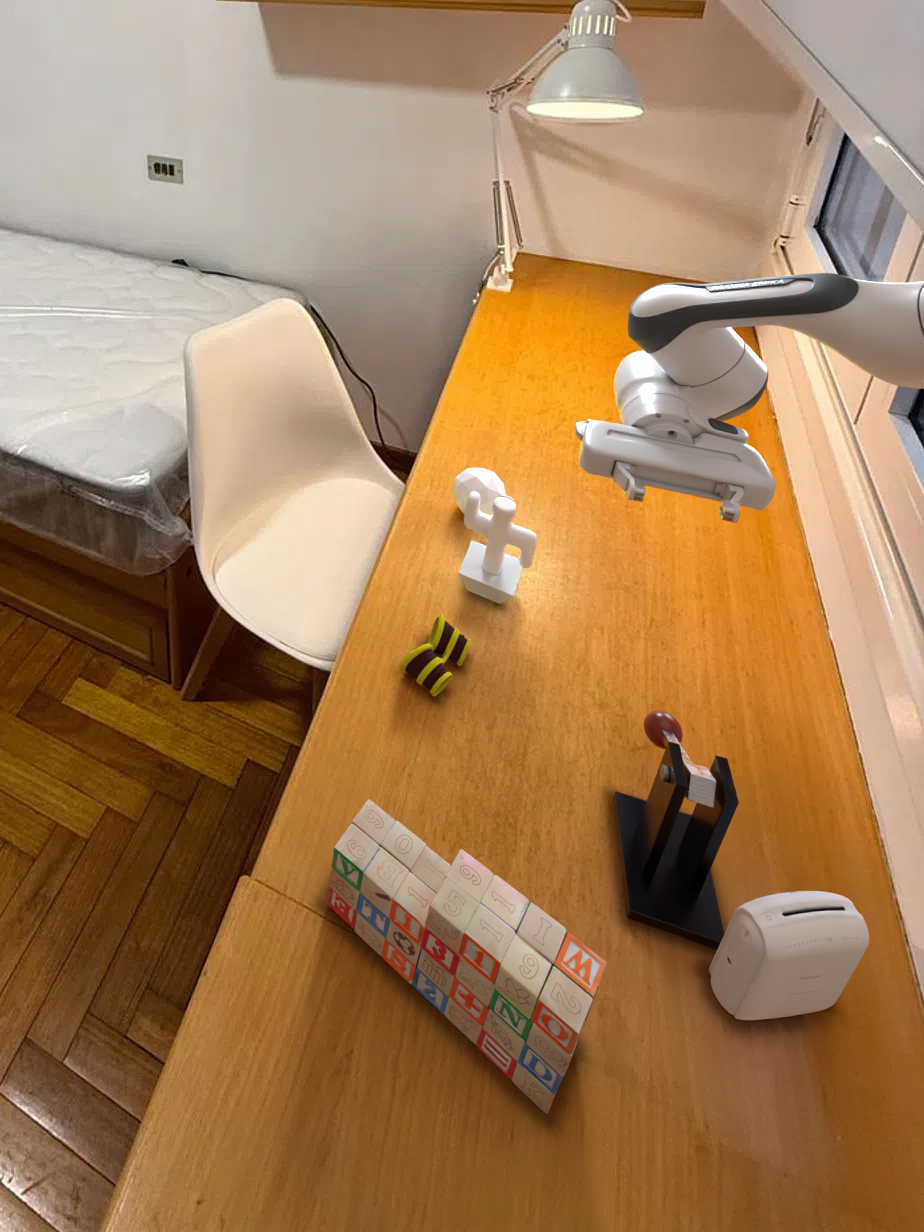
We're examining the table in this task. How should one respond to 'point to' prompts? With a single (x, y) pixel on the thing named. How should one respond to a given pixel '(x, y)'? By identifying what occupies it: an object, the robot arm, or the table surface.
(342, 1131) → the table surface
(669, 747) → the bracket
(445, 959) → the stack of blocks
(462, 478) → the geometric ball
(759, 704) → the table surface
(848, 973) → the photo printer
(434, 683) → the opera glasses
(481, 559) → the figurine
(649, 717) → the lever
